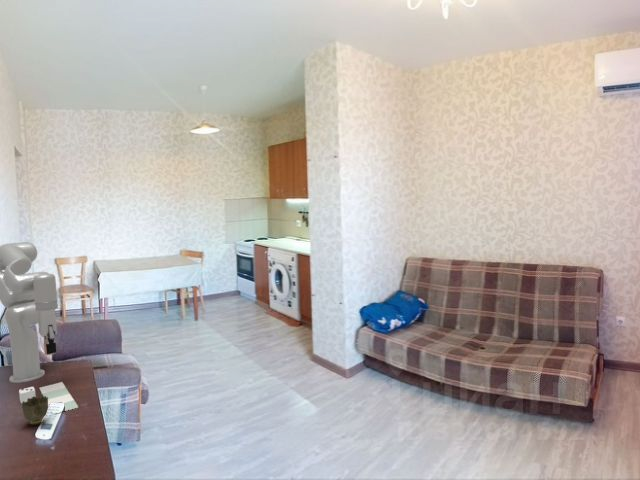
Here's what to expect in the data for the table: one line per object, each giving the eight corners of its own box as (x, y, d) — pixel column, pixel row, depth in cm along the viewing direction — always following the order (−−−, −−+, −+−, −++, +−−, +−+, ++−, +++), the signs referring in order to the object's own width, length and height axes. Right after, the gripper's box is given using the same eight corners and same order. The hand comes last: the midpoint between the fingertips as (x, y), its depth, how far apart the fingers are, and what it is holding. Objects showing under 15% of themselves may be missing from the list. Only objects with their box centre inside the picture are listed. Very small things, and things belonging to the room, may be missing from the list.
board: (39, 388, 174) (39, 387, 174) (62, 382, 179) (62, 382, 179) (52, 415, 151) (52, 414, 151) (78, 407, 156) (78, 407, 156)
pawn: (44, 353, 172) (42, 337, 171) (55, 350, 174) (54, 334, 174) (45, 355, 169) (44, 339, 168) (57, 353, 171) (56, 337, 171)
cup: (36, 429, 142) (34, 406, 141) (17, 428, 143) (15, 404, 142) (55, 418, 149) (53, 395, 148) (36, 417, 150) (34, 394, 150)
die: (19, 401, 163) (18, 388, 163) (34, 397, 166) (33, 385, 166) (21, 405, 160) (20, 392, 159) (36, 401, 163) (35, 389, 162)
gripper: (31, 304, 174) (36, 349, 175) (38, 310, 161) (43, 359, 163) (53, 301, 179) (57, 345, 180) (61, 307, 166) (65, 354, 167)
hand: (50, 351), depth 171 cm, fingers closed on pawn, 4 cm apart
